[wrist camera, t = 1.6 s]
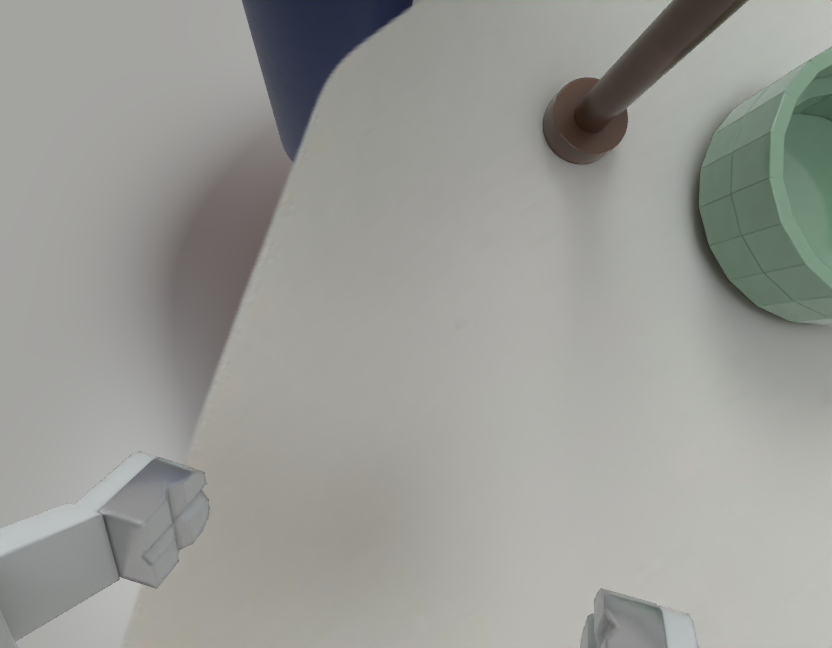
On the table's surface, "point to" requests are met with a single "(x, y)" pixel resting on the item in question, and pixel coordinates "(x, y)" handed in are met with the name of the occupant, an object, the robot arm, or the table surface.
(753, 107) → the bowl
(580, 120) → the muddler
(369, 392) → the table surface
